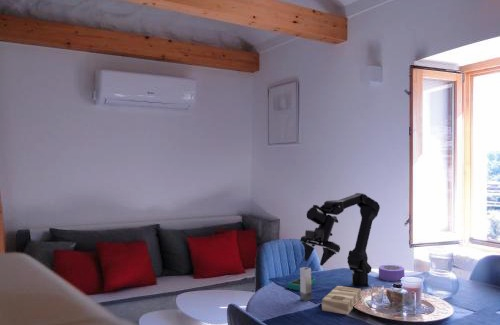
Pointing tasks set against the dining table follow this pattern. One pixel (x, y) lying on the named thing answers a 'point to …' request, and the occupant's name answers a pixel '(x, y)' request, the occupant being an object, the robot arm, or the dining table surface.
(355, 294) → the socket block
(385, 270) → the tape roll
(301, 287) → the square bit
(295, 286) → the digital multimeter
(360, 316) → the dining table surface
